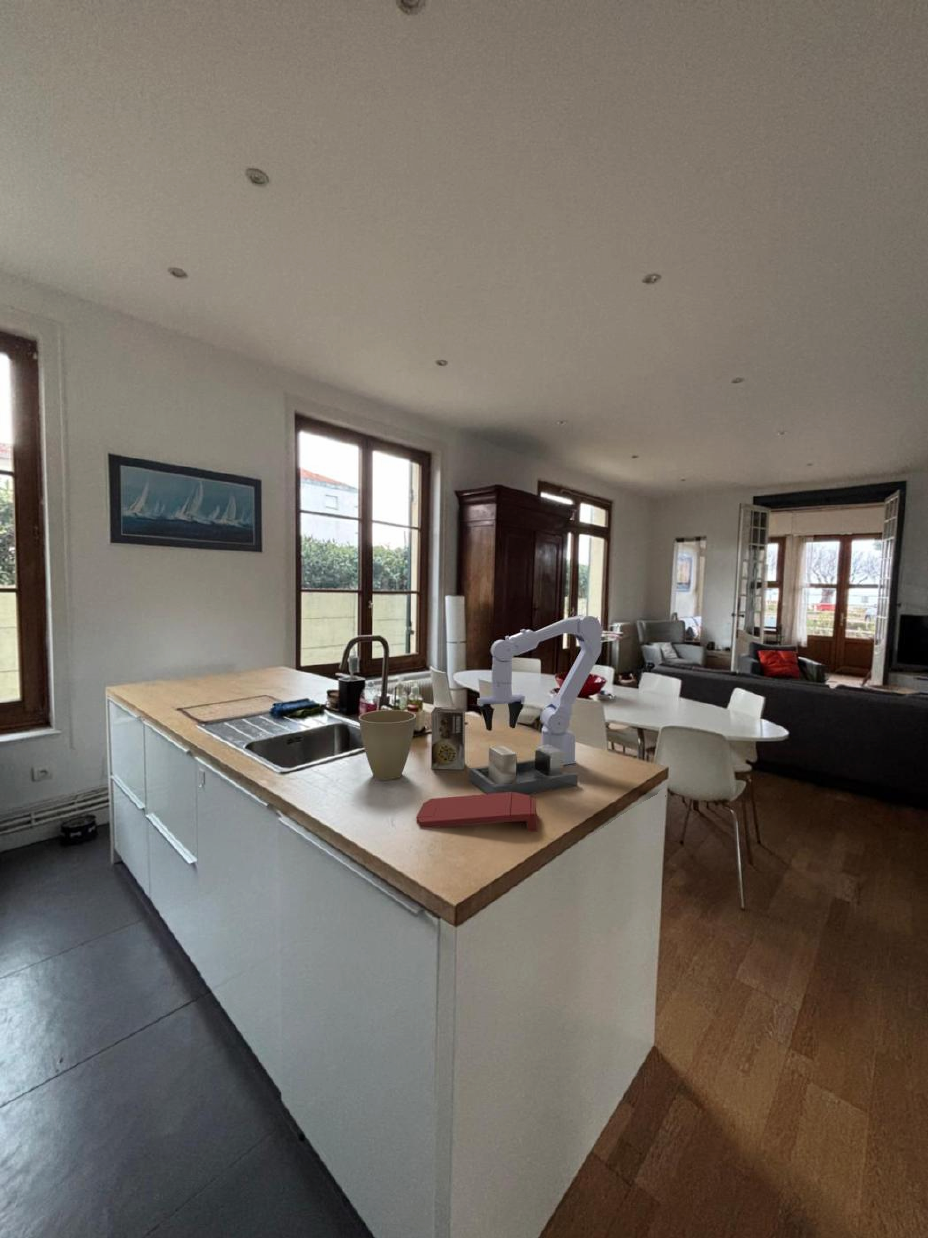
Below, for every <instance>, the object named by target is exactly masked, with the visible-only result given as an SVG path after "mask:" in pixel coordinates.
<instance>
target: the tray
mask: <svg viewBox="0 0 928 1238" xmlns="http://www.w3.org/2000/svg"><path fill="white" fill-rule="evenodd" d="M534 751H535V752H534V753H535V754H534V759H527V760H520V761H517V777H516V782H511V783H504V784H496V783H495V782H493V781H492V780H491V779H489V765H483V766H478V767H477V766H476V767H469V768H468V769H469V771H468V772H469V773H468V775H469V776H468V778H469V779H468V780H469V781H470V782H471V783H473V784H474V785H475V786H477V788H479V789H480V790H481V791H483V792H484V793H485V794H493V793H505V792H515V793H520V794H525V795H529V794H530V795H531V794H537V793H542V792H549V791H552V790H558V789H559V788H560V789H565V788H570V787H576V786H578V780H579V779H578V776H579V774H578V773H576V772H570V773H564V765H563V756H564V752H563V751H561V750H559V749H557V748H555V747H553V746H551V745H549V744H547V745H541V744H540V745H539V744H538V745H535V750H534ZM560 789H559V790H560Z"/></svg>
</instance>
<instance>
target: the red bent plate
mask: <svg viewBox="0 0 928 1238" xmlns="http://www.w3.org/2000/svg"><path fill="white" fill-rule="evenodd" d="M536 805H537V804H536V798H535V797H531V795H529V794H520V793H515V792H505V793H493V794H486V793H485V794H483V793H482V794H474V795H472V794H471V795H460V796H449V797H435V798H430V799H428V800H427V801H425V802H423V803H422V805H421V807H420V809H419V812H418V813H417V815H416V817H415V819H416V822H417V824H418V825H419V826H420V828H431V829H432V828H442V827H456V826H457V827H458V826H466V825H467V826H470V825H479V824H480V825H482V824H495V823H506V822H522V821H523V822H524V821H525V823H526V829H527V831H528V832H538V812H537V807H536Z"/></svg>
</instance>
